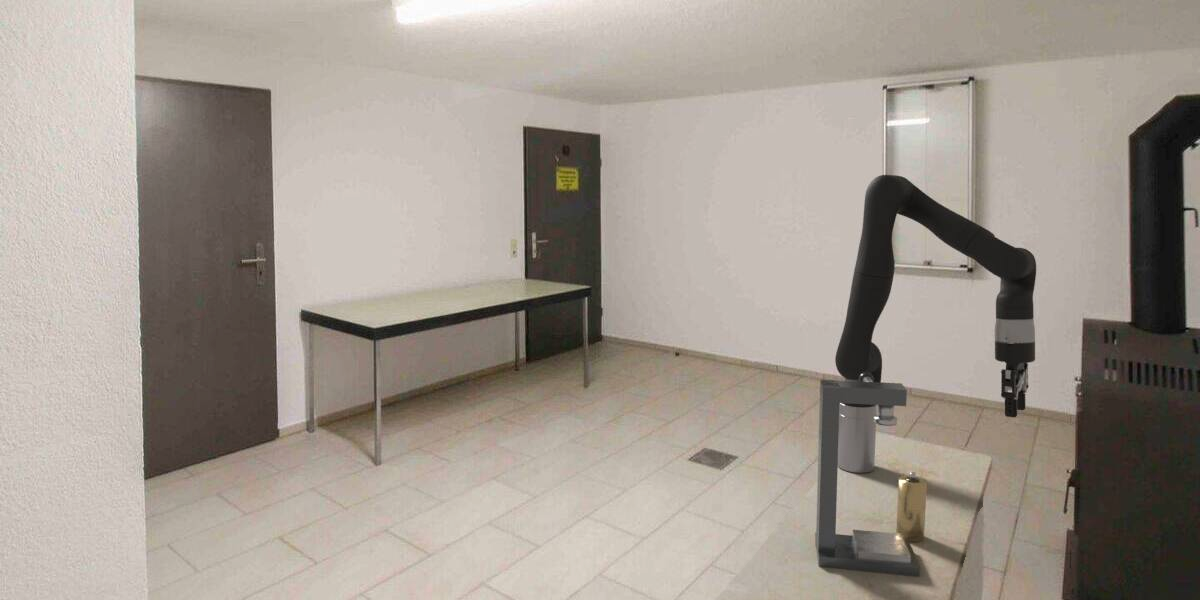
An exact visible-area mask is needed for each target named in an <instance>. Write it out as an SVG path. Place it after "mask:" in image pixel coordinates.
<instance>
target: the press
mask: <svg viewBox="0 0 1200 600" xmlns="http://www.w3.org/2000/svg"><path fill="white" fill-rule="evenodd" d="M873 381H874V378H873V376H872V374H870V373H868V372H864V373H862V374H860V376H859V382H855V381H845V380H838V379H820V384H819V413H818V414H819V416H818V417H819V419H818V449H817V450H818V455H817V487H816V488H817V490H816V493H817V494H816V524H815V525H816V529H815V531H816V532H815V533H814V535H815V537H814V543H815V550H816V554H817V555H816V556H817V562H818V563H817V564H818V567H822V568H833V569H841V570H850V571H859V572H861V571H862V572H872V573H880V574H890V575H891V574H892V575H900V576H902V575H903V576H910V577H920V574H921V573H920V572H921V571H920V570H921V566H920V564H919V561H918V559H917V556H916V554H915V552H914V549H913V547H912V545H911V544H912V543H911V542H909V541H906V540H904V539H903V536H902V534H897V533H896V532H895V533H894V532H887V531H886V532H885V531H884V532H883V531H872V530H861V529H852V534H851V535H850V534H837V533H836V530H837V529H836V528H837V501H838V500H837V499H838V492H837V491H838V468H839V467H838V436H839V404H840V403H849V404H870V405H877V412H876V415H875V416H874V423H876V425H879V426H885V427H893V426H896V425H898V417H896V416H895V407H896V406H897V407H907V399H908V398H907V395H908V394H907V393H908V390H907V389H906V387H905V386H904V384H903V383H902V382H900V383H899V382H881V383H879V382H873Z"/></svg>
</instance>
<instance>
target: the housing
mask: <svg viewBox="0 0 1200 600" xmlns="http://www.w3.org/2000/svg"><path fill="white" fill-rule="evenodd" d="M909 473H910V474H909V475H900V476H899V477H898V484H897V486H898V487H897V507H896V508H897V509H896V511H897V512H896V529H895V530H896V531H895V533H897V534H902V536H903V539H904V540H906V541H909V542H910V543H911V544H912V543H913V544H917V543H922V542H924V541H925V531H926V530H925V527H926V524H925V523H926V507H927V486H928V482H927V480H926V479H925V478H922V477H919V476H916V474H917V473H916V472H915V471H910V472H909Z"/></svg>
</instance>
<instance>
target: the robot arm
mask: <svg viewBox="0 0 1200 600" xmlns="http://www.w3.org/2000/svg"><path fill="white" fill-rule="evenodd" d="M897 215H900V216H901V217H902V216H903V217H906V218H907V219H911V220H913V221H915V222H917V223H918V224H920V225H922V226H924V228H926V229H927V230H929V231H930V232H931V233H932V234H933V235H934V236H935V237H936V238H938V239H939V240H940V241H942V242H943V243H945V244H946V245H948V246H949V247H950V248H952V249H954V250H955V251H957V252H959V253H961V254H962V255H965V256H966V257H968V258H970V259H972V260H973V261H975V262H976V263H977V264H979V265H980V266H981V267H982V268H983V269H985V270H986V271H988V272H989V273H991V274H992V275H994V276H996V277H998V278H1000V285H999V286H1000V287H999V292H998V294H997V296H996V299H995V325H994V359H995V360H996V361H998V362H1001V363H1005V369H1004V368H1002V369H1001V371H1000V373H1001V383H1000V384H1001V388H1000V389H1001V393H1000V396H1001V398H1003V399H1004V415H1005V417H1007V418H1016V417H1018V411H1025V410H1026V393H1027V392H1028V389H1029V363H1033V362H1035V361H1036V328H1035V321H1034V292H1035V285H1036V278H1037V261H1036V258H1035V256H1034V254H1033V253H1032V252H1031V251H1030V250H1028V249H1027V248H1023V247H1015V246H1013V245H1011V244H1009V243H1008V242H1005V241H1003V240H1001V239H1000V238H998V237H996V236H995V234H994V233H993V232H991V231H990V230H989V229H987V228H985V227H983V226H981V225H980V224H978V223H976V222H975V221H972V220H970V219H968V218H966V217H965V216H962V215H961V214H959V213H957V212H955V211H953V210H951V209H950V208H947V207H946V206H944V205H942V204H941V203H939V202H938V201H936V200H935V199H934V198H932V197H931V196H929V195H928V194H926V192H924V191H923V190H921V189H920V188H919V187H918V186H916V185H915V184H914V183H913V182H911V181H910V180H908V179H907V178H906V177H904V176H901V175H897V174H896V175H895V174H882V175H879V176H878V175H877V176H876V177H874V178H873V179H872V180H871V181H870V182H869V184H868V186H867V188H866V191H865V195H864V205H863V220H862V230H861V235H860V239H859V240H860V241H859V245H858V248H857V249H858V250H857V251H858V252H857V256H856V262H855V266H854V269H853V270H854V271H853V276H852V279H851V280H852V281H851V286H850V293H849V298H848V304H847V308H846V309H847V310H846V317H845V322H844V326H843V329H842V333H841V336H840V339H839V342H838V345H837V349H836V354H835V358H834V359H835V367H836V369H837V372H838V373H839V374H840V376H842V377H843V378H844V381H855V382H859V376H860V374H862V373H864V372H868V373H870V374H872V376H873V378H874V381H873V382H879V383H882V371H883V359H882V358H883V357H882V353H881V350H880V349H879V346H877V345H876V344H875V343H874V342H872V340H873V335H874V330H875V328H876V325H877V322H878V321H879V318H880V317H881V315H882V312H883V311H884V309H885V307H886V305H887V302H888V301H889V298H890V294H891V291H892V285H893V282H894V276H895V269H896V268H895V263H896V262H895V256H894V249H893V232H894V226H895V222H896V218H897ZM877 412H878V405H870V404H849V403H840V404H839V436H838V468H839V469H840V470H843V471H847V472H850V473H856V474H857V473H860V474H864V473H870V472H874V470H875V463H876V462H875V461H876V459H875V458H876V435H877V434H876V433H877V424H876V423H874V416H875V415H877Z"/></svg>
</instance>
